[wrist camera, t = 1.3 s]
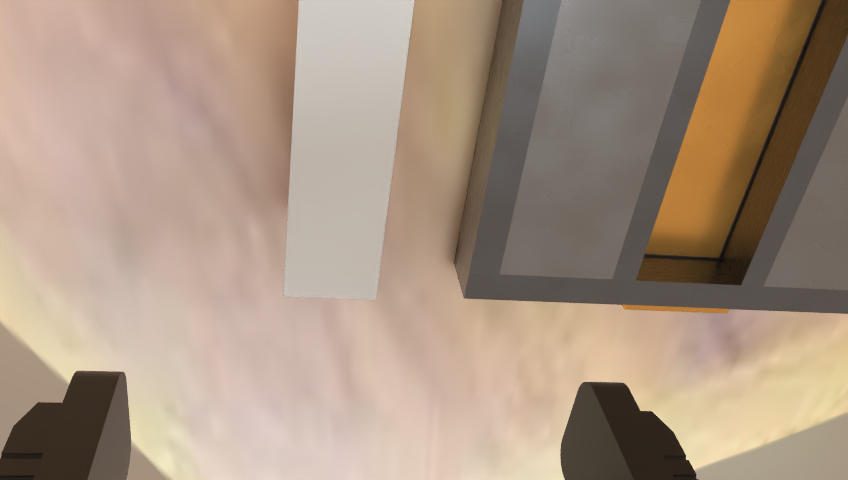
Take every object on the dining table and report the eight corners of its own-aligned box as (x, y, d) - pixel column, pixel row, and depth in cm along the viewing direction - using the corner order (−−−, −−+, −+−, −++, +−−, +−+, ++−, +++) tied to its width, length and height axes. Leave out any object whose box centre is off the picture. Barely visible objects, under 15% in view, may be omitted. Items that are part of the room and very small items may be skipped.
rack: (1006, -45, 28) (1063, -29, 26) (838, 286, 35) (871, 320, 33) (524, -112, 25) (544, -99, 22) (453, 268, 32) (462, 304, 30)
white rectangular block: (395, -55, 25) (415, -8, 20) (365, 209, 30) (376, 299, 25) (303, -66, 25) (299, -21, 20) (288, 205, 30) (283, 296, 25)
